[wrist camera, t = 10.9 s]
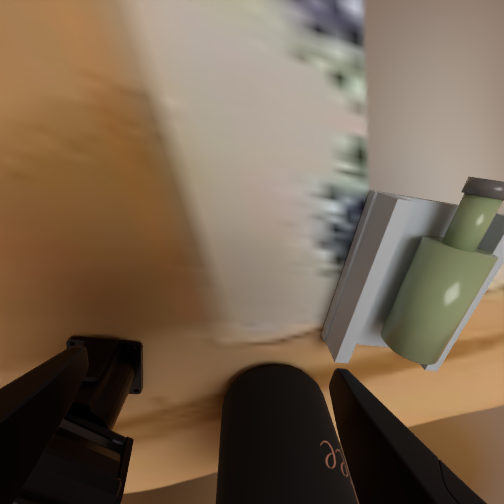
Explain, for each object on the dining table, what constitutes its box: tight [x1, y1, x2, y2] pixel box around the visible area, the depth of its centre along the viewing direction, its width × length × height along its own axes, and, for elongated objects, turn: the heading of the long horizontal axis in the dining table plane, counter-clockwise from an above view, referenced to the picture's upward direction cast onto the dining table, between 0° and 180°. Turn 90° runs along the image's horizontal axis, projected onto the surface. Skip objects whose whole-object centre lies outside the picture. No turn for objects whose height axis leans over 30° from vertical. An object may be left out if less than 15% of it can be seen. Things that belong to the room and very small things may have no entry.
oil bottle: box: [381, 177, 504, 365], centre depth 19 cm, size 14×4×4 cm
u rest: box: [321, 190, 504, 371], centre depth 21 cm, size 14×10×3 cm
